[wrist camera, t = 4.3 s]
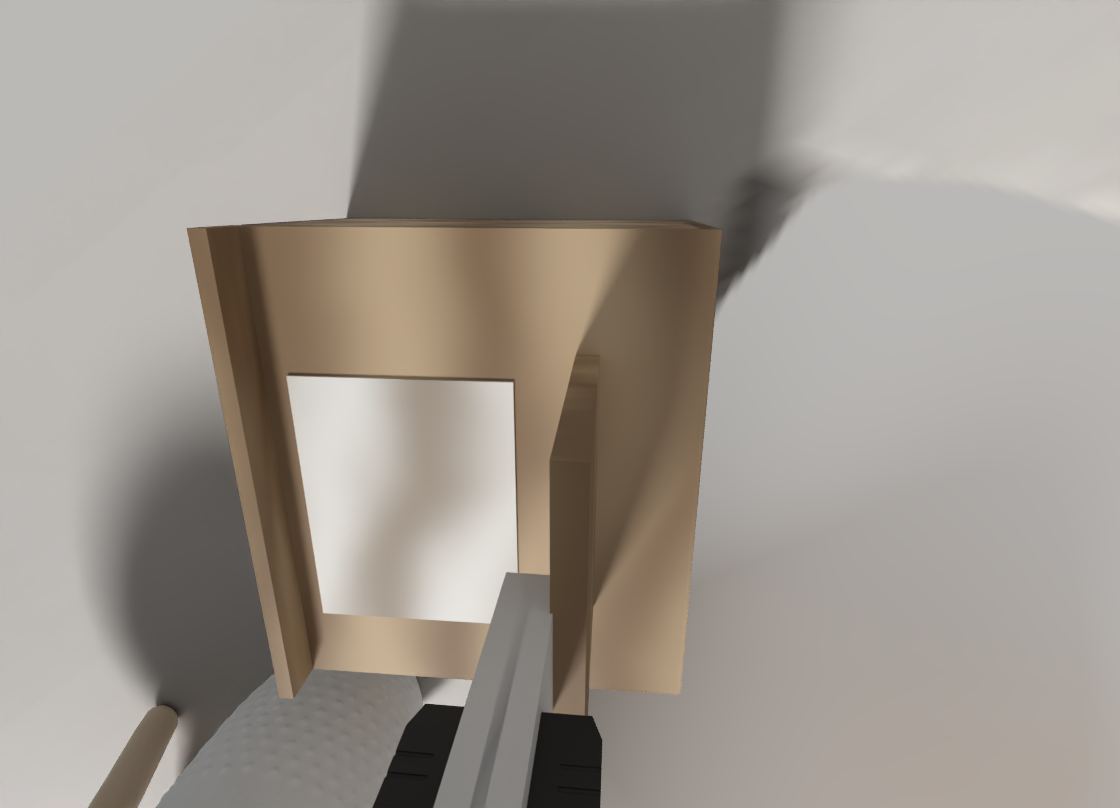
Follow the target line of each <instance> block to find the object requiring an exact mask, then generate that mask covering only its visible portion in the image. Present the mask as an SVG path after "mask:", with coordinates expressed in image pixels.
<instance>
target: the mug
mask: <svg viewBox="0 0 1120 808" xmlns="http://www.w3.org/2000/svg"><path fill="white" fill-rule="evenodd" d="M422 707H423V702H422V696H421V692H420V688H419V685H418V682H417V679H416V676H408V675H394V674H380V673H366V672H351V671H337V670H323V669H313V670H312V671H311V673H310V674H309V676H308V677H307V679H306V680H305V682H304V684H303V685H302V687H301V688H300V690H299V691H298V693H297V694H296V696H295V698H294V699H288V698H279V694H278V689H277V684H276V679H275V674H273V675H271V676H270V677H269V678H268V679H267V680H266V681H265V682H264V683H263V684H262V685H261V686H259V687H258V688H257V689H256V690H254V691H253V692H252V693H251V694H250V695H249V697H248V698H247V699H246V700H244V701H243V702H242V703H241V704H239V705H238V707H237V708H236V710H234V712H233V713H232V715H231V716H230V717H228V718H227V719H226V720H225V721H224V722H223V724H221V725H220V727H219V728H218V730H217V732H216V733H215V734H214V735H213V736H212V738H211V739H210V740H208V741H207V742H206V743H205V744H204V746H203V747H202V748H201V749H200V751H199V752H198V754H197V756H196V757H195V758H194V759H193V760H192V762H191V763H190V764H189V765H188V766H187V767H186V768H185V769H184V770H183V772H182V774H181V775H180V776H179V777H178V778H177V780H176V781H175V783H174V784H173V786H172V787H171V788H170V789H169V791H168V792H166V793H165V794H164V795H163V797H162V799H161V801H160V803H159V804H158V805H157V807H156V808H372V807H373V805H374V802H375V800H376V797H377V795H378V793H379V790H380V788H381V785H382V783H383V780H384V778H385V777H386V776H387V771H388V768H389V766H390V763H391V761H392V758H393V756H394V755H395V754H396V749H397V746H398V744H399V741H400V739H401V736H402V734H403V732H404V729H405V727H406V725H407V723H408V722H409V721H410V720H411V719H412V718H413V717H414V716H415V715H416V714H417V712H418V711H419V710H420V709H421V708H422Z"/></svg>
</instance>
